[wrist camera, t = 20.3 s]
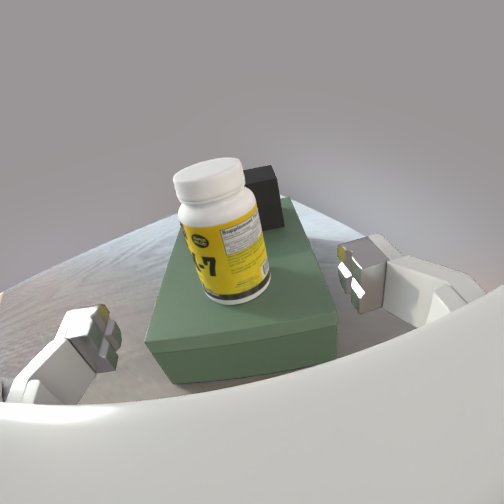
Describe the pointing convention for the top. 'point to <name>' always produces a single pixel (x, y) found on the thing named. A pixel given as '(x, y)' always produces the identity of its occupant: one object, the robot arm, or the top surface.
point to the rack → (245, 315)
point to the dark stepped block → (265, 196)
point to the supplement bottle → (223, 230)
